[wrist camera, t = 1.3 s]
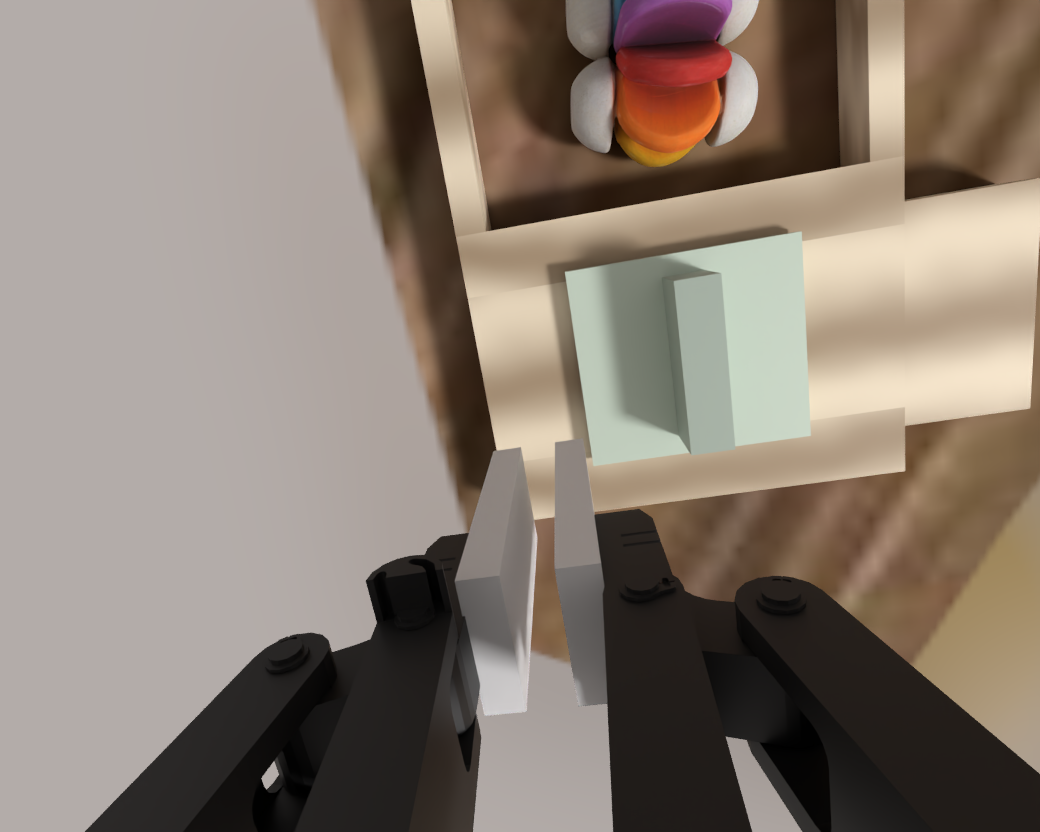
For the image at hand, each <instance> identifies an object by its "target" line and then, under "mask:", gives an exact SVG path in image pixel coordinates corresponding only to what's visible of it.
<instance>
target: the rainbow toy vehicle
mask: <svg viewBox="0 0 1040 832" xmlns="http://www.w3.org/2000/svg"><path fill="white" fill-rule="evenodd" d="M758 2H759V0H566V24H567V34H568V38H569V40H570V42H571V43H572V45H573V46H574V47H575V48H576V49H577V50H578V51H579V52H580V53H581V54H583V55H584V56H585V57H587V58H590V59H592V60H596V61H594V62H593V63H591V64H589V65H588V66H587V67H585V68H584V69H583V70H582V71H581V72H580V73H579V74H578V76H577V77H576V79H575V80H574V82H573V84H572V87H571V127H572V131H573V133H574V135H575V136H576V138H577V139H578V140H579V141H580V142H581V143H582V144H583V145H585V146H586V147H588V148H589V149H591V150H593V151H597V152H601V153H607V152H608V151H609V149H610V145H611V139H612V131H613V129H614V132H615V136H616V140H617V142H618V143H619V144H620V146H621V147H622V149H623V150H624V151H625V153H626V154H627V155H628V156H629V157H630V158H631V159H633V160H634V161H636V162H637V163H639V164H641V165H644V166H647V167H662V166H666V165H669V164H671V163H674V162H676V161H677V160H679V159H681V158H682V157H683V156H684V155H686V154H687V153H688V152H689V151H690V150H691V149H692V148H693V147H694V146H695V145H696V143H697V142H699V141H700V140H702V139H703V138H705V141H706V143H707V144H708V145H709V146H711V147H716V146H719V145H722V144H725V143H727V142H729V141H731V140H732V139H734V138H735V137H736V136H738V135H739V134H740V133H741V132H742V131H743V130H744V129H745V128H746V126H747V125H748V124H749V122H750V121H751V119H752V116H753V114H754V111H755V107H756V103H757V97H758V82H757V78H756V75H755V72H754V70H753V69H752V67H751V65H750V64H749V63H748V62H747V61H746V60H745V59H744V58H743V57H741V56H740V55H738V54H736V53H734V52H731V51H729V50H728V49H727V48H725V47H724V45H725V44H727V43H729V42H731V41H732V40H734V39H735V38H736V37H737V36H739V35H740V34H741V33H742V32H743V31H744V30H745V28H746V27H747V26H748V24H749V23H750V21H751V20H752V18H753V16H754V14H755V12H756V9H757V6H758ZM611 45H612V46H613V47H614V49H615V52H616V53H617V55H616V65H617V66H615V64H614V63H613V62H612V61H611V60H610V58H608V56H609V47H610V46H611Z"/></svg>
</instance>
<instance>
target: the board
mask: <svg viewBox="0 0 1040 832" xmlns="http://www.w3.org/2000/svg"><path fill="white" fill-rule="evenodd" d="M411 3H412V9H413V14H414V19H415V24H416V30H417V35H418V40H419V45H420V51H421V56H422V61H423V66H424V72H425V77H426V82H427V87H428V93H429V98H430V103H431V108H432V114H433V119H434V124H435V129H436V135H437V140H438V145H439V150H440V156H441V161H442V166H443V171H444V177H445V182H446V187H447V192H448V198H449V203H450V208H451V213H452V219H453V224H454V229H455V234H456V240H457V245H458V250H459V255H460V261H461V266H462V271H463V276H464V282H465V287H466V292H467V297H468V302H469V308H470V313H471V318H472V323H473V329H474V334H475V339H476V344H477V350H478V355H479V360H480V365H481V371H482V376H483V381H484V386H485V392H486V397H487V402H488V407H489V413H490V418H491V423H492V428H493V434H494V439H495V444H496V449H497V451H498V450H505V449H512V448H519V447H521V450H522V456H523V461H524V467H525V472H526V478H527V483H528V489H529V495H530V500H531V506H532V511H533V517H534V520H536V519H544V518H551V517H555V442H560V441H567V440H574V439H581V438H583V441H584V448H585V455H586V461H587V468H588V475H589V481H590V488H591V495H592V501H593V508H594V512H597V511H604V510H612V509H620V508H627V507H635V506H642V505H650V504H658V503H665V502H673V501H680V500H688V499H696V498H703V497H711V496H718V495H726V494H734V493H741V492H749V491H756V490H764V489H772V488H779V487H787V486H794V485H802V484H810V483H817V482H825V481H832V480H840V479H848V478H855V477H863V476H870V475H878V474H886V473H893V472H901V471H905V426H906V425H914V424H921V423H928V422H935V421H942V420H950V419H957V418H964V417H971V416H979V415H986V414H993V413H1000V412H1007V411H1015V410H1022V409H1029V408H1030V401H1031V382H1032V364H1033V346H1034V328H1035V310H1036V291H1037V273H1038V255H1039V237H1040V178H1036V179H1029V180H1021V181H1014V182H1007V183H1000V184H993V185H987V186H982V187H976V188H970V189H964V190H959V191H953V192H947V193H942V194H936V195H930V196H924V197H919V198H913V199H907V200H905V196H904V0H836V30H837V66H838V101H839V137H840V168H835V169H829V170H824V171H818V172H813V173H807V174H802V175H796V176H791V177H785V178H780V179H774V180H769V181H763V182H757V183H752V184H746V185H741V186H735V187H730V188H724V189H719V190H713V191H708V192H702V193H697V194H691V195H686V196H680V197H675V198H669V199H664V200H658V201H653V202H647V203H642V204H636V205H631V206H625V207H620V208H614V209H609V210H603V211H597V212H592V213H586V214H581V215H575V216H570V217H564V218H559V219H553V220H548V221H542V222H537V223H531V224H526V225H520V226H515V227H509V228H504V229H498V230H493V231H492V229H491V223H490V218H489V212H488V206H487V201H486V195H485V189H484V183H483V178H482V172H481V166H480V161H479V155H478V149H477V144H476V138H475V132H474V126H473V121H472V115H471V109H470V104H469V98H468V92H467V86H466V81H465V75H464V69H463V64H462V58H461V52H460V46H459V41H458V35H457V29H456V24H455V18H454V12H453V6H452V1H451V0H411ZM800 231H802V249H803V271H804V294H805V316H806V338H807V360H808V382H809V404H810V427H811V436H807V437H799V438H792V439H785V440H778V441H771V442H763V443H756V444H749V445H742V446H735V450H727V451H720V452H713V453H706V454H699V455H691V454H690V453H684V454H677V455H670V456H663V457H656V458H648V459H641V460H634V461H627V462H620V463H613V464H605V465H598V466H593V460H592V454H591V447H590V440H589V433H588V426H587V419H586V413H585V406H584V399H583V392H582V385H581V379H580V372H579V365H578V358H577V351H576V345H575V338H574V331H573V324H572V317H571V311H570V304H569V297H568V290H567V283H566V277H565V271H571V270H577V269H583V268H589V267H594V266H600V265H606V264H612V263H618V262H624V261H629V260H635V259H641V258H647V257H653V256H658V255H664V254H670V253H676V252H682V251H687V250H693V249H699V248H705V247H711V246H716V245H722V244H728V243H734V242H740V241H745V240H751V239H757V238H763V237H769V236H774V235H780V234H786V233H792V232H800Z"/></svg>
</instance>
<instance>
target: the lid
mask: <svg viewBox="0 0 1040 832" xmlns="http://www.w3.org/2000/svg"><path fill="white" fill-rule="evenodd" d="M565 277H566V283H567V290H568V297H569V304H570V311H571V317H572V324H573V331H574V338H575V345H576V351H577V358H578V365H579V372H580V379H581V385H582V392H583V399H584V406H585V413H586V419H587V426H588V433H589V440H590V447H591V454H592V460H593V466H598V465H605V464H613V463H620V462H627V461H634V460H641V459H648V458H656V457H663V456H670V455H677V454H684V453H690V454H691V455H699V454H706V453H713V452H720V451H727V450H735V446H742V445H749V444H756V443H763V442H771V441H778V440H785V439H792V438H799V437H807V436H811V427H810V404H809V382H808V360H807V338H806V316H805V294H804V271H803V249H802V231H800V232H792V233H786V234H780V235H774V236H769V237H763V238H757V239H751V240H745V241H740V242H734V243H728V244H722V245H716V246H711V247H705V248H699V249H693V250H687V251H682V252H676V253H670V254H664V255H658V256H653V257H647V258H641V259H635V260H629V261H624V262H618V263H612V264H606V265H600V266H594V267H589V268H583V269H577V270H571V271H565Z"/></svg>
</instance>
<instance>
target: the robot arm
mask: <svg viewBox="0 0 1040 832" xmlns="http://www.w3.org/2000/svg"><path fill="white" fill-rule="evenodd" d="M536 550H537V534H536V528H535V523H534V517H533V511H532V506H531V500H530V495H529V489H528V483H527V478H526V472H525V467H524V461H523V456H522V450H521V447H519V448H512V449H505V450H498V451H493V454H492V458H491V461H490V464H489V468H488V471H487V474H486V478H485V481H484V484H483V488H482V491H481V494H480V498H479V501H478V504H477V508H476V511H475V514H474V518H473V521H472V525H471V528H470V531H469V533H465V534H458V535H450V536H442V537H440V538H439V539H438V540H437V541H436V542H435V543H433V544H432V545H431V546H430V547H429V548H428V549H427V551H426V554H425V555H415V556H408V557H404V558H400V559H396V560H394V561H391V562H389V563H387V564H385V565H383V566H381V567H380V568H379V569H377V570H375V571H374V572H372V574H371V575H370V576H369V577H368V579H367V580H366V583H367V587H368V590H369V595H370V598H371V602H372V606H373V610H374V613H375V617H376V620H377V624H376V627H375V630H374V632H373V635H372V637H371V639H370V640H367V641H365V642H363V643H360V644H357V645H354V646H351V647H348V648H345V649H342V650H338V651H335V652H332V651H331V648H330V644H329V641H328V640H327V639H326V638H325V637H324V636H323V635H320V634H315V633H305V634H296V635H292V636H290V637H285V638H283V639H280V640H279V641H278V642H276V643H274V644H272V645H270V646H269V647H267V648H265V649H264V650H263V651H262V652H261V653H259V654H258V655H257V656H256V657H254V658H253V659H252V661H251V662H250V663H249V664H248V665H247V666H246V667H245V668H244V669H243V670H242V671H241V672H240V673H239V674H238V675H237V676H236V677H235V678H234V679H233V680H232V681H231V682H230V683H229V684H228V685H227V686H226V687H225V688H224V689H223V690H222V691H221V692H220V693H219V694H218V695H217V696H216V697H215V698H214V700H213V701H212V702H211V703H210V704H209V705H208V706H207V707H206V708H205V709H204V710H203V711H202V712H201V713H200V714H199V715H198V716H197V717H196V718H195V719H194V720H193V721H192V722H191V723H190V724H189V725H188V726H187V727H186V728H185V729H184V730H183V731H182V732H181V733H180V734H179V735H178V736H177V738H176V739H175V740H174V741H173V742H172V743H171V744H170V745H169V746H168V747H167V748H166V749H165V750H164V751H163V752H162V753H161V754H160V755H159V756H158V757H157V758H156V759H155V760H154V761H153V762H152V763H151V764H150V765H149V766H148V767H147V769H145V770H144V771H143V772H142V773H141V774H140V776H139V777H138V778H137V779H136V780H135V781H134V782H133V783H132V784H131V785H130V786H129V787H128V788H127V789H126V790H125V791H124V792H123V793H122V794H121V795H120V796H119V797H118V798H117V799H116V800H115V801H114V802H113V803H112V804H111V805H110V807H108V808H107V810H105V811H104V812H103V814H102V815H101V816H100V817H99V818H98V819H97V820H96V821H95V822H94V823H93V824H92V825H91V826H90V827H89V828H88V829H87V830H86V831H85V832H473V823H474V812H475V801H476V789H477V779H478V767H479V756H480V744H481V734H480V728H479V723H478V719H477V714H476V709H477V703H478V696H479V693H480V697H481V702H482V706H483V711H484V715H485V716H488V715H498V714H508V713H518V712H527V697H528V680H529V664H530V648H531V632H532V615H533V599H534V583H535V567H536ZM555 574H556V580H557V585H558V591H559V597H560V603H561V608H562V614H563V620H564V626H565V631H566V637H567V643H568V649H569V655H570V660H571V666H572V672H573V678H574V683H575V688H576V695H577V701H578V706H588V705H597V704H608V725H609V747H610V770H611V791H612V814H613V832H752V829H751V826H750V822H749V819H748V815H747V812H746V808H745V804H744V801H743V797H742V794H741V790H740V787H739V783H738V780H737V776H736V772H735V769H734V765H733V762H732V758H731V755H730V751H729V747H728V744H727V740H726V737H725V736H727V737H732V738H738V739H745V740H747V742H748V744H749V747H750V750H751V752H752V754H753V756H754V757H755V759H756V760H757V762H758V763H759V765H760V766H761V768H762V770H763V771H764V773H765V774H766V775H767V777H768V779H769V780H770V782H771V784H772V785H773V787H774V788H775V790H776V791H777V793H778V794H779V796H780V798H781V799H782V801H783V802H784V804H785V805H786V807H787V808H788V810H789V812H790V813H791V815H792V816H793V818H794V819H795V821H796V822H797V824H798V826H799V827H800V828H801V830H802V832H1040V774H1039V773H1038V772H1037V771H1036V770H1034V769H1033V768H1032V767H1031V766H1030V765H1028V764H1027V763H1026V762H1025V761H1024V760H1023V759H1021V758H1020V757H1019V756H1017V754H1015V753H1014V752H1013V751H1012V750H1011V749H1010V748H1008V747H1007V746H1006V745H1005V744H1004V743H1002V742H1001V741H1000V740H999V739H998V738H997V737H995V736H994V735H993V734H992V733H991V732H989V731H988V730H987V729H986V728H985V727H983V726H982V725H981V724H980V723H979V722H978V721H976V720H975V719H974V718H973V717H972V716H970V715H969V714H968V713H967V712H966V711H965V710H963V709H962V708H961V707H960V706H959V705H957V704H956V703H955V702H954V701H953V700H952V699H950V698H949V697H948V696H947V695H946V694H944V693H943V692H942V691H941V690H940V689H939V688H937V687H936V686H935V685H934V684H933V683H931V682H930V681H929V680H928V679H927V678H926V677H924V676H923V675H922V674H921V673H920V672H918V671H917V670H916V669H915V668H914V667H913V666H911V665H910V664H909V663H908V662H907V661H905V660H904V659H903V658H902V657H901V656H900V655H898V654H897V653H896V652H895V651H894V650H892V649H891V648H890V647H889V646H888V645H886V644H885V643H884V642H883V641H882V640H881V639H879V638H878V637H877V636H876V635H875V634H873V633H872V632H871V631H870V630H869V629H868V628H866V627H865V626H864V625H863V624H862V623H860V622H859V621H858V620H857V619H856V618H855V617H853V616H852V615H851V614H850V613H849V612H847V611H846V610H845V609H844V608H843V607H842V606H840V605H839V604H838V603H837V602H836V601H834V600H833V599H832V598H831V597H830V596H829V595H827V594H826V593H825V592H824V591H823V590H821V589H819V588H818V587H816V586H814V585H813V584H811V583H809V582H806V581H803V580H799V579H796V578H792V577H785V576H783V577H781V576H770V577H762V578H757V579H754V580H752V581H749V582H746V583H745V584H744V585H742V586H741V587H740V588H739V589H738V590H737V592H736V596H735V602H726V601H715V600H709V599H704V598H700V597H697V596H694V595H692V594H690V593H688V592H686V591H685V590H684V586H683V585H682V583H681V582H680V580H679V579H678V578H677V577H675V576H673V575H672V572H671V569H670V566H669V563H668V561H667V558H666V555H665V552H664V549H663V547H662V544H661V542H660V538H659V535H658V532H657V530H656V527H655V524H654V521H653V518H652V517H650V516H649V515H647V514H646V513H644V512H643V511H641V510H640V509H635V510H628V511H620V512H613V513H605V514H597V515H594V508H593V501H592V495H591V488H590V481H589V475H588V468H587V461H586V455H585V448H584V441H583V438H581V439H574V440H567V441H560V442H555ZM273 761H275V764H276V767H277V770H278V772H279V776H278V777H277V779H276V780H275V781H274V783H273V784H272V785H271V786H270V787H269V788H268V789H267V790H266V788H265V787H264V785H263V782H262V779H261V778H262V776H263V775H264V773H265V772H266V771H267V769H268V768H269V767H270V765H271V764H272V763H273Z"/></svg>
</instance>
